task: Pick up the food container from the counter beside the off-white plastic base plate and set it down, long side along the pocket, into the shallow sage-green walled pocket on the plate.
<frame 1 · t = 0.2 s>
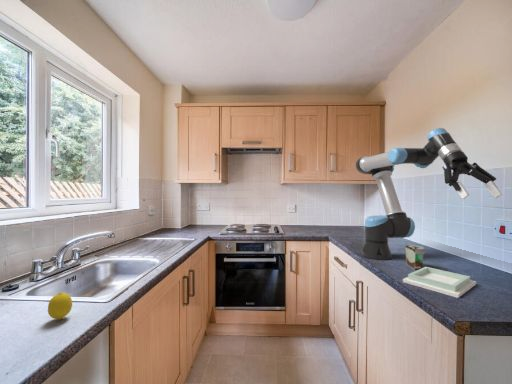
hand: (482, 196, 91), 35 cm above the counter, tool tilted 35°, fingers open, 13 cm apart
pocket plate: (438, 283, 96), on the counter
lemon: (60, 320, 69), on the counter
food container: (417, 267, 116), on the counter
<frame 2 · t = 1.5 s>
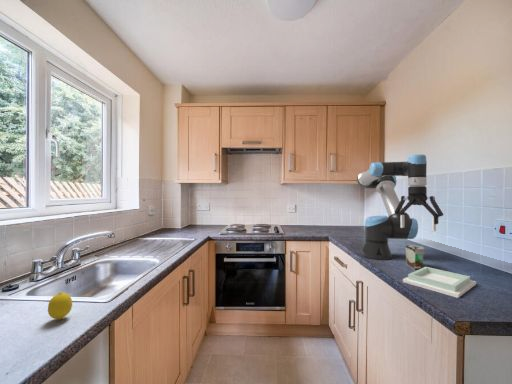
hand: (417, 229, 116), 19 cm above the counter, tool pointing down, fingers open, 13 cm apart
nothing on the counter moved.
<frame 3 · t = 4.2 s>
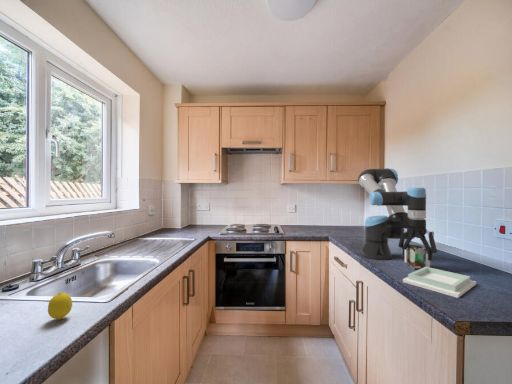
hand: (416, 264, 116), 1 cm above the counter, tool pointing down, fingers closed on food container, 9 cm apart
food container: (418, 267, 116), on the counter, touching gripper
everything else where it was.
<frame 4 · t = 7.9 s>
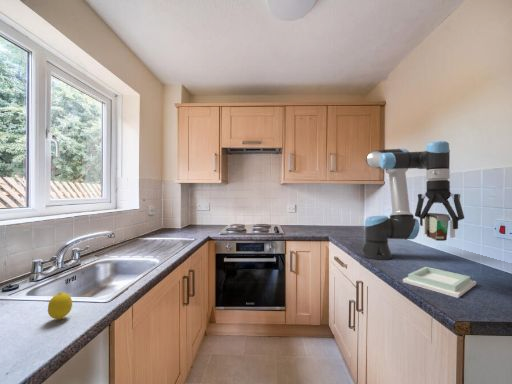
hand: (438, 235, 96), 19 cm above the counter, tool pointing down, fingers closed on food container, 9 cm apart
food container: (439, 239, 95), point 18 cm above the counter, touching gripper
everything else where it was.
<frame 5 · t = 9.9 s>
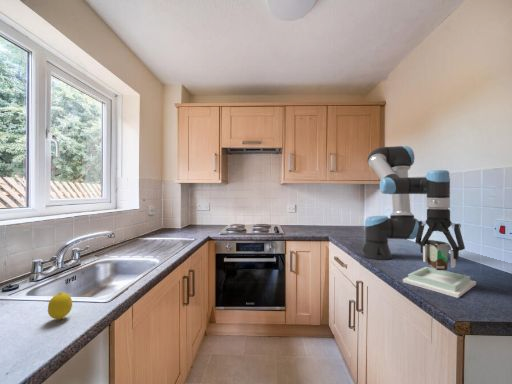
hand: (438, 264, 96), 8 cm above the counter, tool pointing down, fingers closed on food container, 9 cm apart
food container: (440, 267, 95), point 6 cm above the counter, touching gripper
everything else where it was.
when the fingers open (5 cm above the counter, at t = 11.5 s): food container drops 2 cm, resting on pocket plate.
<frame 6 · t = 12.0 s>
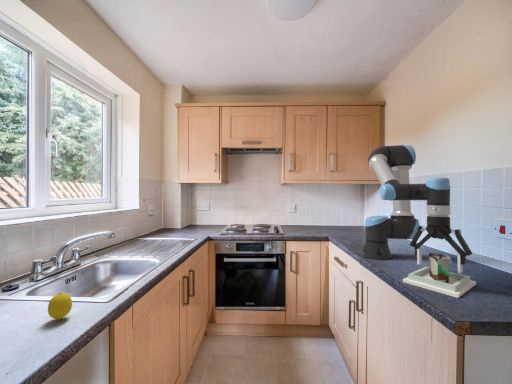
hand: (438, 267, 96), 6 cm above the counter, tool pointing down, fingers open, 13 cm apart
food container: (442, 281, 95), point 1 cm above the counter, touching pocket plate
everything else where it was.
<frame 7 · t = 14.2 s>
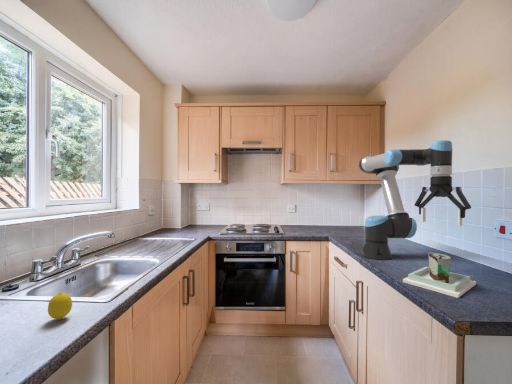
hand: (440, 223, 105), 23 cm above the counter, tool pointing down, fingers open, 13 cm apart
nothing on the counter moved.
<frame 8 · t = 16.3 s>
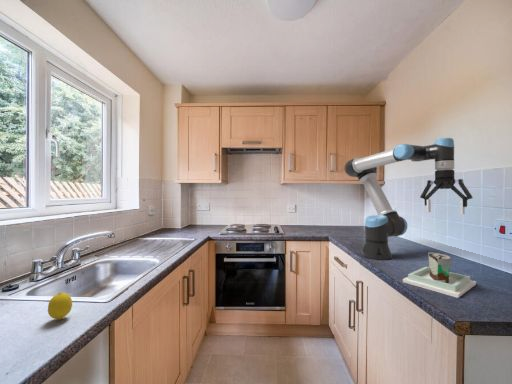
hand: (444, 213, 116), 27 cm above the counter, tool pointing down, fingers open, 13 cm apart
nothing on the counter moved.
at the end: food container 1.1 cm off-centre on the pocket plate, point 1.0 cm above the pocket plate's base; food container tilted 0°; the gripper is holding nothing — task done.
